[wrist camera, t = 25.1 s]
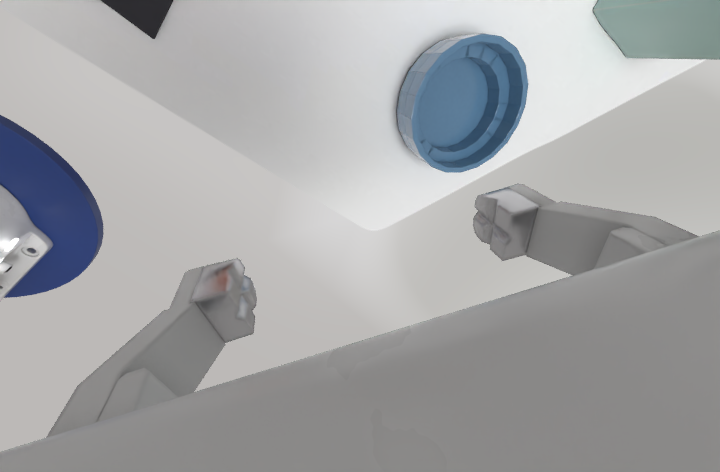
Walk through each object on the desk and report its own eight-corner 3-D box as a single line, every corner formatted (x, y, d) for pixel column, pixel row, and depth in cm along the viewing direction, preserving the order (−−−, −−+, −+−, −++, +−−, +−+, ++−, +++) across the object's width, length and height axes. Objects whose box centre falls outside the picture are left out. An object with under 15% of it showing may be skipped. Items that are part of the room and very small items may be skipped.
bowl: (440, 178, 45) (458, 192, 40) (372, 113, 37) (386, 122, 32) (516, 97, 40) (546, 102, 36) (459, 3, 32) (488, -5, 28)
